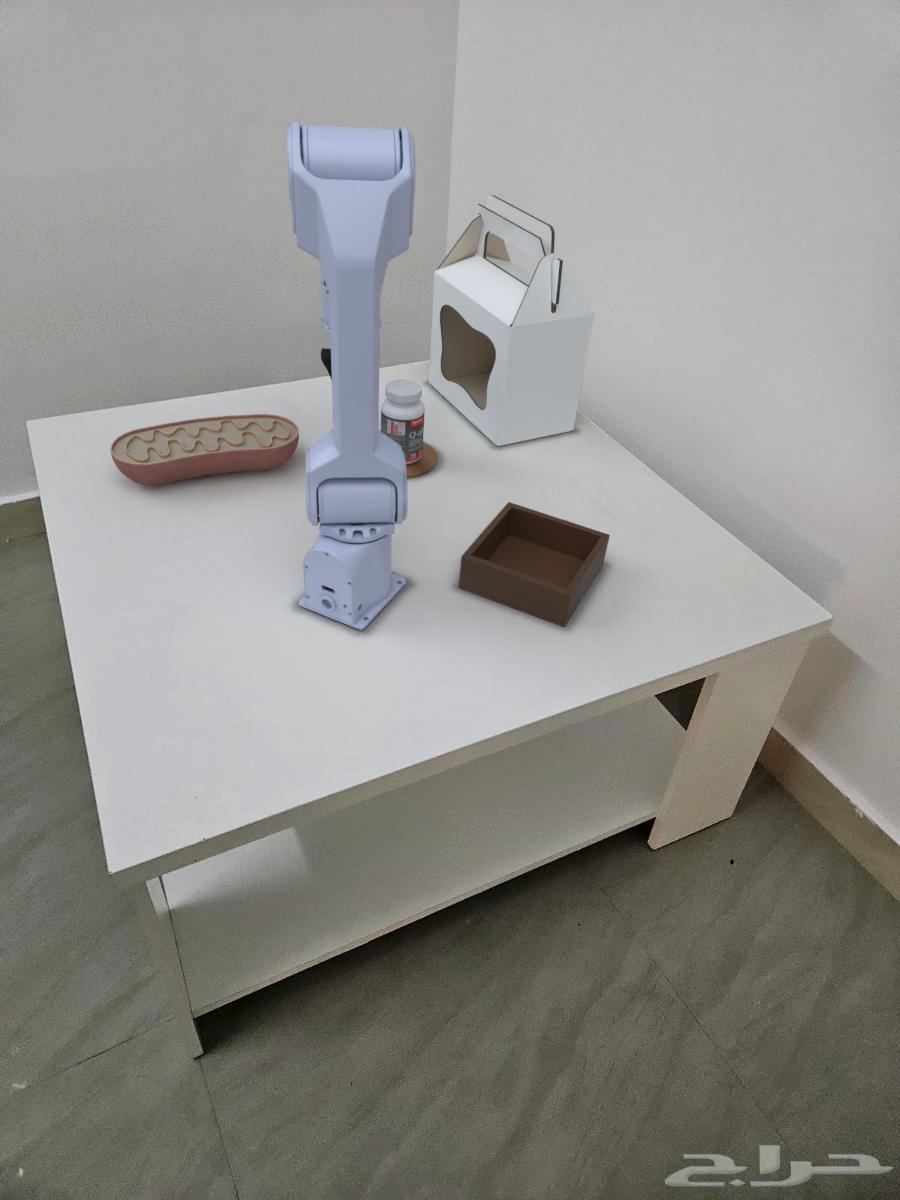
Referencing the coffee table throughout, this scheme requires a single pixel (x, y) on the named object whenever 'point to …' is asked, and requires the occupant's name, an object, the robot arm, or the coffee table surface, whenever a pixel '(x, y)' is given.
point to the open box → (533, 563)
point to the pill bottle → (404, 417)
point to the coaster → (423, 462)
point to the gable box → (509, 329)
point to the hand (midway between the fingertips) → (348, 391)
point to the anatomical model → (204, 447)
